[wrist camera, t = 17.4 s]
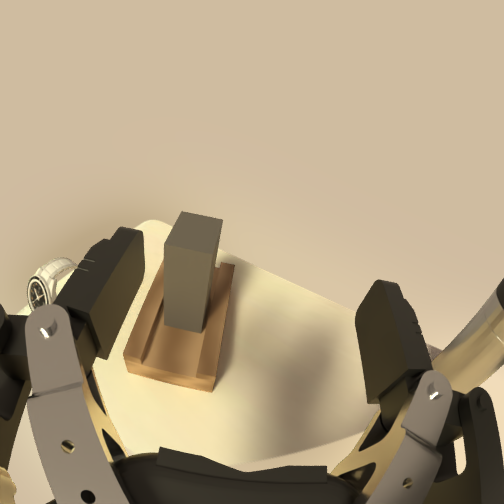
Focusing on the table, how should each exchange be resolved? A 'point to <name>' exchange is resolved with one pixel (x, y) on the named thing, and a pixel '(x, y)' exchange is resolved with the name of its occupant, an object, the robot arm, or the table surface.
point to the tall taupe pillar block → (189, 270)
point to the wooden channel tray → (179, 338)
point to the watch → (46, 282)
